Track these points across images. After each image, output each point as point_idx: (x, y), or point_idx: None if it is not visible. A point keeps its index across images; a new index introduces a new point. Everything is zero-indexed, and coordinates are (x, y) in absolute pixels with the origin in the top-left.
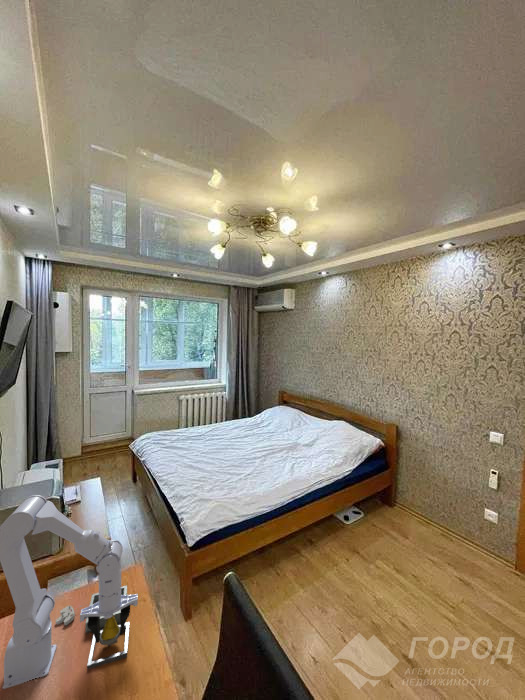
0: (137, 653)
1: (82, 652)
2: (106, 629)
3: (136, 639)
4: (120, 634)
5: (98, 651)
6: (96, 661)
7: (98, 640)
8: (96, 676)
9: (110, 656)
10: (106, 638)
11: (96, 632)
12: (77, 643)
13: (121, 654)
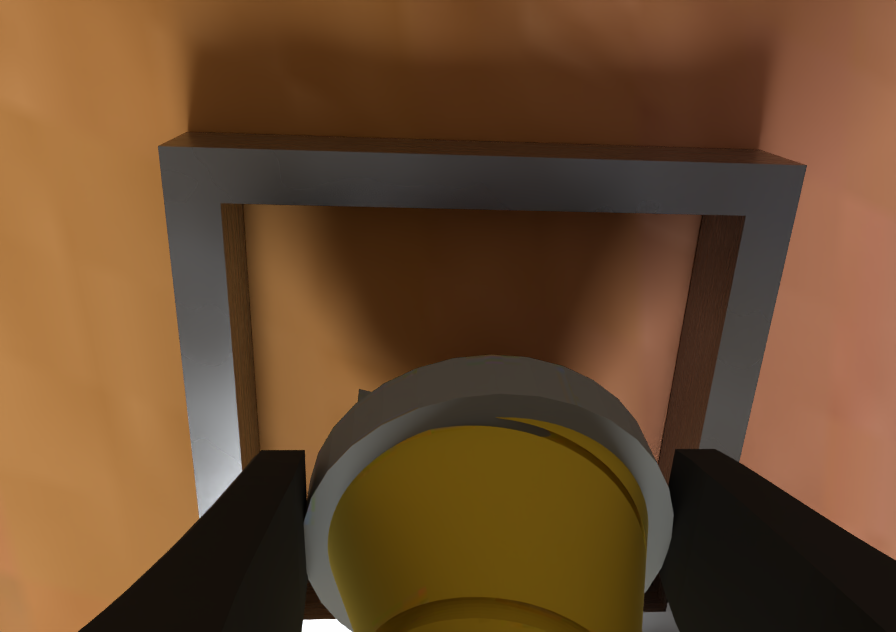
0: (20, 144)
1: (802, 447)
2: (595, 610)
3: (88, 384)
4: (289, 459)
5: (613, 392)
6: (669, 185)
7: (702, 466)
8: (634, 10)
9: (449, 186)
10: (560, 448)
11: (880, 594)
12: None
13: (259, 151)
